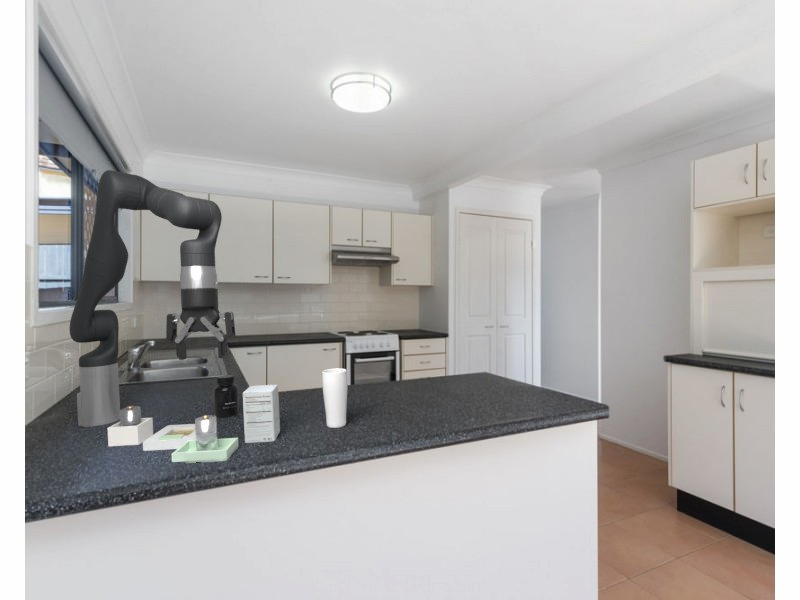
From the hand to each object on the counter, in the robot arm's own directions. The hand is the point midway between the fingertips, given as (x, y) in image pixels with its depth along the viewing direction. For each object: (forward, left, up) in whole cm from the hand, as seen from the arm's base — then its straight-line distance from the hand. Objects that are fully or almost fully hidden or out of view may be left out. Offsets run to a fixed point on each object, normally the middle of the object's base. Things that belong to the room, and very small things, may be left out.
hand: (202, 358), depth 93 cm
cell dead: (-23, +12, -22) cm, 34 cm away
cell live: (0, 0, -22) cm, 22 cm away
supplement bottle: (-6, +31, -22) cm, 39 cm away
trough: (0, 0, -22) cm, 22 cm away
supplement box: (+10, +10, -22) cm, 26 cm away
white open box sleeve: (-23, +12, -22) cm, 34 cm away
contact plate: (-10, +10, -22) cm, 26 cm away
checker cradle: (-10, +10, -22) cm, 26 cm away
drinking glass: (+28, +16, -22) cm, 39 cm away
